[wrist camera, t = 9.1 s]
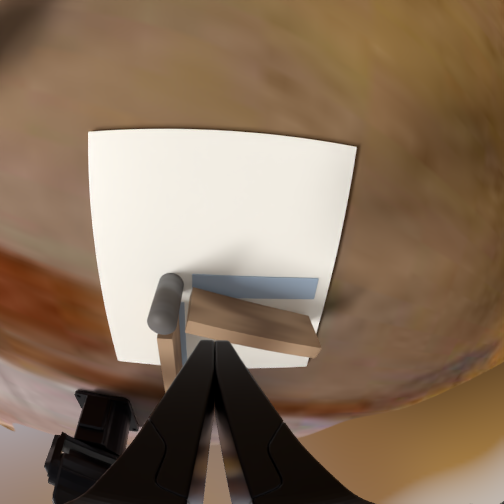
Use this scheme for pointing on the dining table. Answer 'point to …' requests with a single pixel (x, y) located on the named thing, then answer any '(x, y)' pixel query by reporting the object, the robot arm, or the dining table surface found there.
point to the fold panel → (250, 324)
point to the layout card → (214, 226)
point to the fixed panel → (167, 325)
